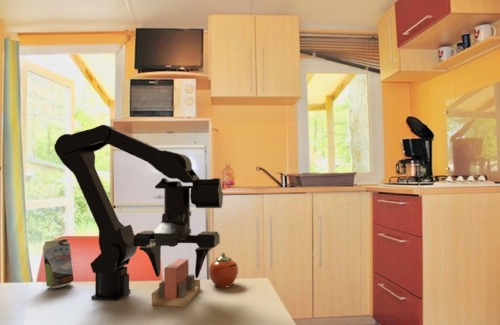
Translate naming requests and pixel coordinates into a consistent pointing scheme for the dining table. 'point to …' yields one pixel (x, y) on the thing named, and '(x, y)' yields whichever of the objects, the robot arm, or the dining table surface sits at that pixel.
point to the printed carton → (58, 263)
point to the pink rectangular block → (175, 277)
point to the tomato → (223, 271)
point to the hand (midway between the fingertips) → (177, 277)
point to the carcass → (184, 293)
